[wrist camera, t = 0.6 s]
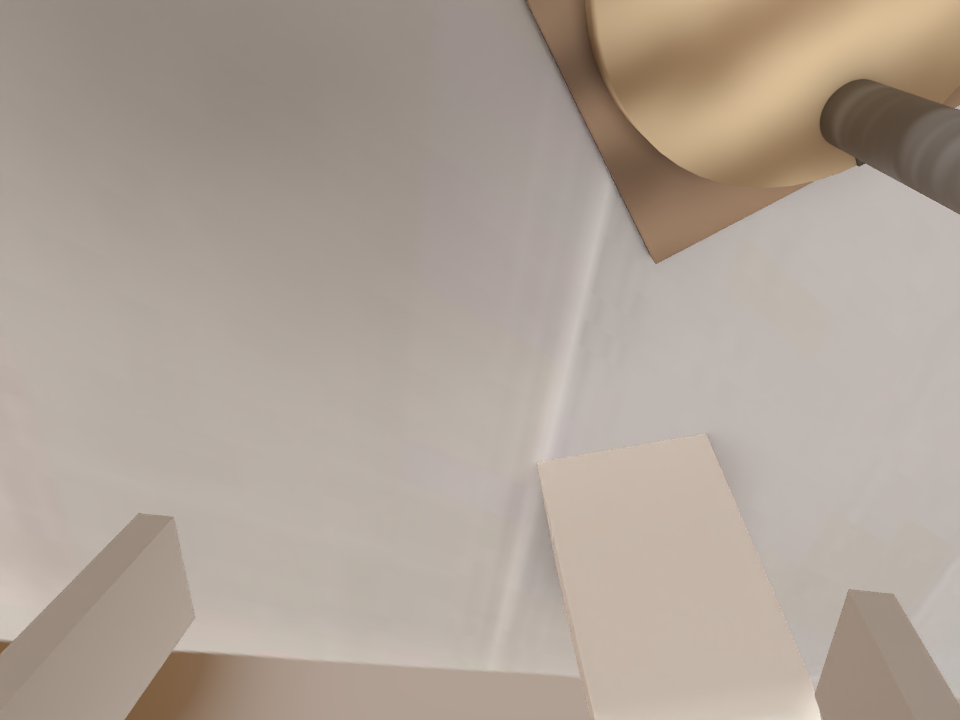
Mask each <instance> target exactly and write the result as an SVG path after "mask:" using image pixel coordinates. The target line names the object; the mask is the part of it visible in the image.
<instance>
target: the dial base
mask: <svg viewBox="0 0 960 720" xmlns="http://www.w3.org/2000/svg"><path fill="white" fill-rule="evenodd" d="M526 2H527V4H528V6H529V8H530V10H531V12H532V14H533V16H534V18H535V20H536V22H537V25H538V27H539V29H540V31H541V33H542V35H543V37H544V39H545V41H546V43H547V45H548V47H549V49H550V51H551V53H552V55H553V57H554V59H555V61H556V63H557V65H558V67H559V70H560V72H561V74H562V76H563V78H564V80H565V82H566V84H567V86H568V88H569V90H570V92H571V94H572V96H573V98H574V100H575V102H576V104H577V106H578V108H579V110H580V113H581V115H582V117H583V119H584V121H585V123H586V125H587V127H588V129H589V131H590V133H591V135H592V137H593V139H594V141H595V143H596V145H597V147H598V149H599V151H600V153H601V155H602V158H603V160H604V162H605V164H606V166H607V168H608V170H609V172H610V174H611V176H612V178H613V180H614V182H615V184H616V186H617V188H618V190H619V192H620V194H621V196H622V198H623V200H624V203H625V205H626V207H627V209H628V211H629V213H630V215H631V217H632V219H633V221H634V223H635V225H636V227H637V229H638V231H639V233H640V235H641V237H642V239H643V241H644V243H645V245H646V248H647V250H648V252H649V254H650V256H651V257H652V259H653V260H654V262H655V264H657V263H659V262H661V261H663V260H665V259H667V258H669V257H670V256H672V255H674V254H676V253H678V252H680V251H682V250H684V249H686V248H688V247H690V246H691V245H693V244H695V243H697V242H699V241H701V240H703V239H705V238H707V237H709V236H711V235H712V234H714V233H716V232H718V231H720V230H722V229H724V228H726V227H728V226H730V225H732V224H734V223H735V222H737V221H739V220H741V219H743V218H745V217H747V216H749V215H751V214H753V213H755V212H756V211H758V210H760V209H762V208H764V207H766V206H768V205H770V204H772V203H774V202H776V201H777V200H779V199H781V198H783V197H785V196H787V195H789V194H791V193H793V192H795V191H797V190H798V189H800V188H802V187H804V186H806V185H808V184H810V183H812V182H814V181H812V182H807V183H803V184H798V185H793V186H786V187H774V188H749V187H739V186H733V185H728V184H722V183H718V182H715V181H712V180H709V179H706V178H703V177H700V176H698V175H696V174H694V173H692V172H690V171H688V170H686V169H684V168H682V167H680V166H678V165H677V164H675V163H674V162H673V161H671V160H670V159H669V158H667V157H666V156H664V155H663V154H662V153H660V152H659V151H658V150H657V149H656V148H655V147H654V146H653V145H652V144H651V143H650V142H649V141H648V140H647V139H646V138H645V137H644V136H643V135H642V134H641V133H640V132H639V131H638V130H637V129H636V128H635V127H634V126H633V125H632V124H631V123H630V122H629V121H628V120H627V118H626V117H625V116H624V114H623V113H622V112H621V110H620V109H619V108H618V106H617V105H616V104H615V102H614V100H613V99H612V97H611V95H610V93H609V91H608V89H607V88H606V86H605V84H604V82H603V80H602V77H601V75H600V72H599V69H598V67H597V64H596V62H595V59H594V56H593V51H592V47H591V43H590V39H589V35H588V29H587V20H586V11H585V0H526ZM943 105H946V106H949V107H952V108H955V107H957V106H959V105H960V86H959V87H958V88H957V89H956V90H955V91H954V92H953V93H952V94H951V95H950V96H949V97H948V98H947V99H946V100H945V101H944V103H943Z"/></svg>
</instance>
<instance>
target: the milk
mask: <svg viewBox="0 0 960 720" xmlns="http://www.w3.org/2000/svg"><path fill="white" fill-rule="evenodd" d="M537 467H538V472H539V478H540V483H541V488H542V494H543V499H544V504H545V510H546V515H547V520H548V526H549V531H550V536H551V542H552V547H553V553H554V558H555V563H556V568H557V573H558V577H559V582H560V586H561V591H562V596H563V600H564V605H565V609H566V614H567V618H568V623H569V627H570V632H571V636H572V641H573V645H574V650H575V654H576V659H577V664H578V668H579V673H580V677H581V681H582V686H583V690H584V695H585V700H586V704H587V709H588V713H589V718H590V720H821V718H820V712H819V707H818V704H817V701H816V699H815V696H814V695H815V691H814V688H813V685H812V683H811V680H810V677H809V674H808V672H807V670H806V667H805V665H804V663H803V660H802V658H801V656H800V653H799V651H798V648H797V646H796V644H795V641H794V639H793V637H792V634H791V632H790V630H789V627H788V625H787V623H786V620H785V618H784V616H783V613H782V611H781V608H780V606H779V604H778V601H777V599H776V597H775V594H774V592H773V590H772V587H771V585H770V583H769V580H768V578H767V576H766V573H765V571H764V569H763V566H762V564H761V561H760V559H759V557H758V554H757V552H756V550H755V547H754V545H753V543H752V540H751V538H750V536H749V533H748V531H747V529H746V526H745V524H744V522H743V519H742V517H741V514H740V512H739V510H738V507H737V505H736V503H735V500H734V498H733V496H732V493H731V491H730V489H729V486H728V484H727V482H726V479H725V477H724V474H723V472H722V470H721V467H720V465H719V463H718V460H717V458H716V456H715V453H714V451H713V449H712V446H711V444H710V442H709V439H708V437H707V435H706V434H701V435H695V436H689V437H683V438H677V439H671V440H665V441H659V442H653V443H647V444H641V445H635V446H629V447H623V448H617V449H611V450H605V451H599V452H594V453H588V454H582V455H576V456H570V457H564V458H558V459H552V460H546V461H540V462H537Z"/></svg>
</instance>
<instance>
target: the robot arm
mask: <svg viewBox="0 0 960 720" xmlns="http://www.w3.org/2000/svg"><path fill="white" fill-rule="evenodd" d="M194 619H195V614H194V609H193V605H192V600H191V595H190V591H189V586H188V581H187V577H186V572H185V567H184V563H183V558H182V554H181V549H180V544H179V540H178V535H177V530H176V526H175V521H174V517H169V516H160V515H151V514H141V513H139V514H138V515H137V516H136V517H135V518H134V519H133V520H132V521H131V522H130V523H129V524H128V525H127V526H126V527H125V528H124V529H123V530H122V531H121V532H120V533H119V534H118V535H117V536H116V537H115V538H114V539H113V540H112V541H111V542H110V543H109V544H108V545H107V546H106V547H105V548H104V549H103V550H102V551H101V552H100V553H99V554H98V555H97V556H96V557H95V558H94V559H93V560H92V561H91V563H90V564H89V565H88V566H87V567H86V568H85V569H84V570H83V571H82V572H81V573H80V574H79V575H78V576H77V577H76V578H75V579H74V580H73V581H72V582H71V583H70V584H69V585H68V586H67V587H66V588H65V589H64V590H63V591H62V592H61V593H60V594H59V595H58V596H57V597H56V598H55V599H54V600H53V601H52V602H51V603H50V604H49V605H48V606H47V607H46V608H45V609H44V610H43V611H42V612H41V613H40V614H39V615H38V616H37V617H36V618H35V619H34V620H33V621H32V623H31V624H30V625H29V626H28V627H27V628H26V629H25V630H24V631H23V632H22V633H21V634H20V635H19V636H18V637H17V638H16V639H15V640H14V641H13V642H12V643H11V644H10V645H9V646H8V647H7V648H6V649H5V650H4V651H3V652H2V653H1V654H0V720H124V719H125V718H126V716H127V715H128V714H129V712H130V711H131V709H132V708H133V706H134V705H135V703H136V702H137V700H138V699H139V698H140V696H141V695H142V693H143V692H144V691H145V689H146V688H147V686H148V685H149V683H150V682H151V680H152V679H153V678H154V676H155V675H156V673H157V672H158V670H159V669H160V668H161V666H162V665H163V663H164V662H165V660H166V659H167V657H168V656H169V655H170V653H171V652H172V650H173V649H174V647H175V646H176V645H177V643H178V642H179V640H180V639H181V637H182V636H183V634H184V633H185V632H186V630H187V629H188V627H189V626H190V624H191V623H192V622H193V620H194ZM814 696H815V699H816V701H817V704H818V707H819V709H820V712H821V715H822V717H823V720H960V705H959V703H958V702H957V700H956V698H955V697H954V695H953V693H952V692H951V690H950V688H949V686H948V685H947V683H946V681H945V680H944V678H943V676H942V675H941V673H940V671H939V670H938V668H937V666H936V665H935V663H934V661H933V660H932V658H931V656H930V654H929V653H928V651H927V649H926V648H925V646H924V644H923V643H922V641H921V639H920V638H919V636H918V634H917V633H916V631H915V629H914V628H913V626H912V624H911V622H910V621H909V619H908V617H907V616H906V614H905V612H904V611H903V609H902V607H901V606H900V604H899V602H898V601H897V599H896V597H895V596H894V594H888V593H879V592H870V591H860V590H851V589H849V590H848V593H847V596H846V599H845V602H844V606H843V609H842V612H841V615H840V618H839V621H838V624H837V627H836V630H835V633H834V636H833V639H832V643H831V646H830V649H829V652H828V655H827V658H826V661H825V664H824V667H823V670H822V673H821V676H820V680H819V683H818V686H817V689H816V692H815V695H814Z"/></svg>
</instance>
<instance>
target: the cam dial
mask: <svg viewBox="0 0 960 720" xmlns="http://www.w3.org/2000/svg"><path fill="white" fill-rule="evenodd" d="M585 11H586V20H587V29H588V35H589V39H590V43H591V47H592V51H593V56H594V59H595V62H596V64H597V67H598V69H599V72H600V75H601V77H602V80H603V82H604V84H605V86H606V88H607V89H608V91H609V93H610V95H611V97H612V99H613V100H614V102H615V104H616V105H617V106H618V108H619V109H620V110H621V112H622V113H623V114H624V116H625V117H626V118H627V120H628V121H629V122H630V123H631V124H632V125H633V126H634V127H635V128H636V129H637V130H638V131H639V132H640V133H641V134H642V135H643V136H644V137H645V138H646V139H647V140H648V141H649V142H650V143H651V144H652V145H653V146H654V147H655V148H656V149H657V150H658V151H659V152H660V153H662V154H663V155H664V156H666V157H667V158H669V159H670V160H671V161H673V162H674V163H675V164H677V165H678V166H680V167H682V168H684V169H686V170H688V171H690V172H692V173H694V174H696V175H698V176H700V177H703V178H706V179H709V180H712V181H715V182H718V183H722V184H728V185H733V186H739V187H749V188H774V187H786V186H793V185H798V184H803V183H807V182H812V181H816V180H819V179H822V178H825V177H828V176H831V175H834V174H837V173H840V172H842V171H845V170H847V169H849V168H851V167H853V166H855V165H857V166H861V165H863V164H865V163H866V164H868V165H870V166H871V167H873V168H875V169H877V170H879V171H881V172H883V173H884V174H886V175H888V176H890V177H892V178H894V179H895V180H897V181H899V182H901V183H903V184H905V185H907V186H908V187H910V188H912V189H914V190H916V191H918V192H919V193H921V194H923V195H925V196H927V197H929V198H930V199H932V200H934V201H936V202H938V203H940V204H942V205H943V206H945V207H947V208H949V209H951V210H953V211H954V212H956V213H958V214H960V110H958V109H955V108H952V107H949V106H946V105H943V103H944V101H945V100H946V99H947V98H948V97H949V96H950V95H951V94H952V93H953V92H954V91H955V90H956V89H957V88H958V87H959V86H960V0H585Z"/></svg>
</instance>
